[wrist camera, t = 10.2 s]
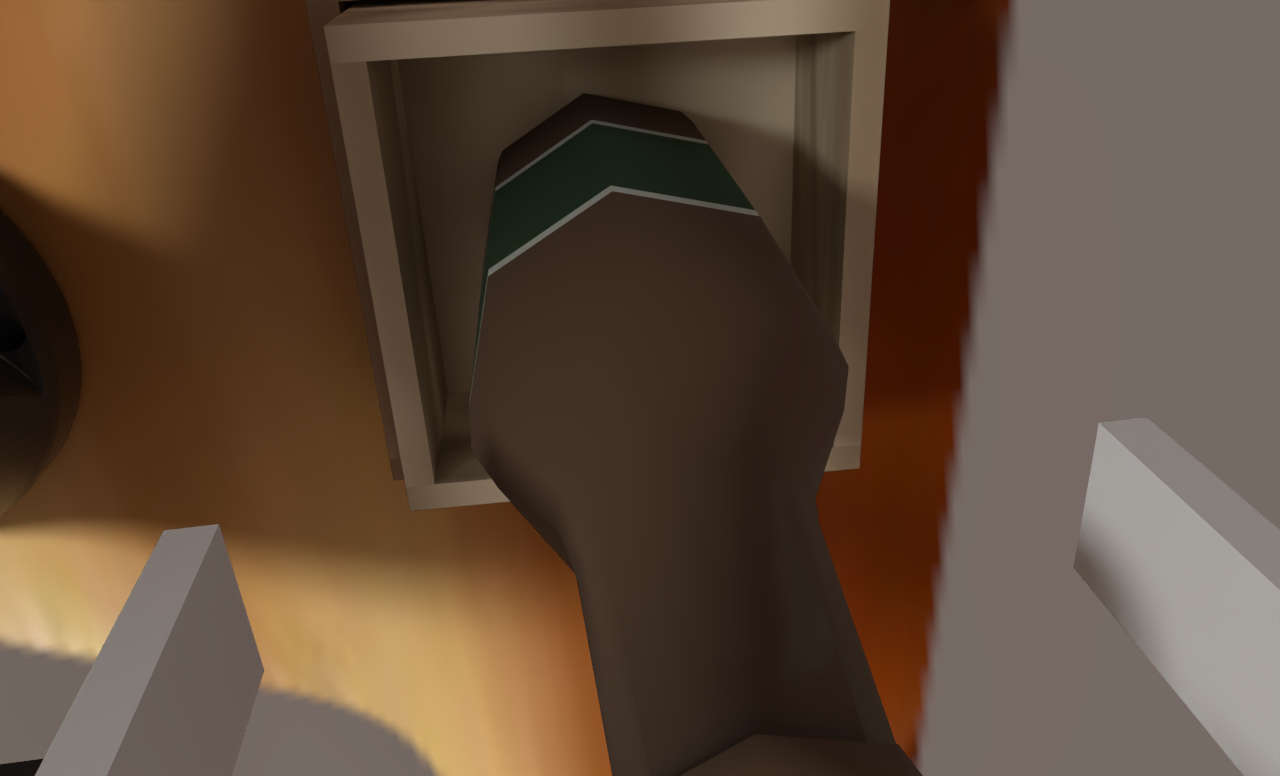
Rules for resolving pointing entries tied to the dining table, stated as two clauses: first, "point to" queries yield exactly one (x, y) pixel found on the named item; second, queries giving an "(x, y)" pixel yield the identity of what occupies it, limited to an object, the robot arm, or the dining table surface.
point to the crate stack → (528, 95)
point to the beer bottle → (673, 447)
